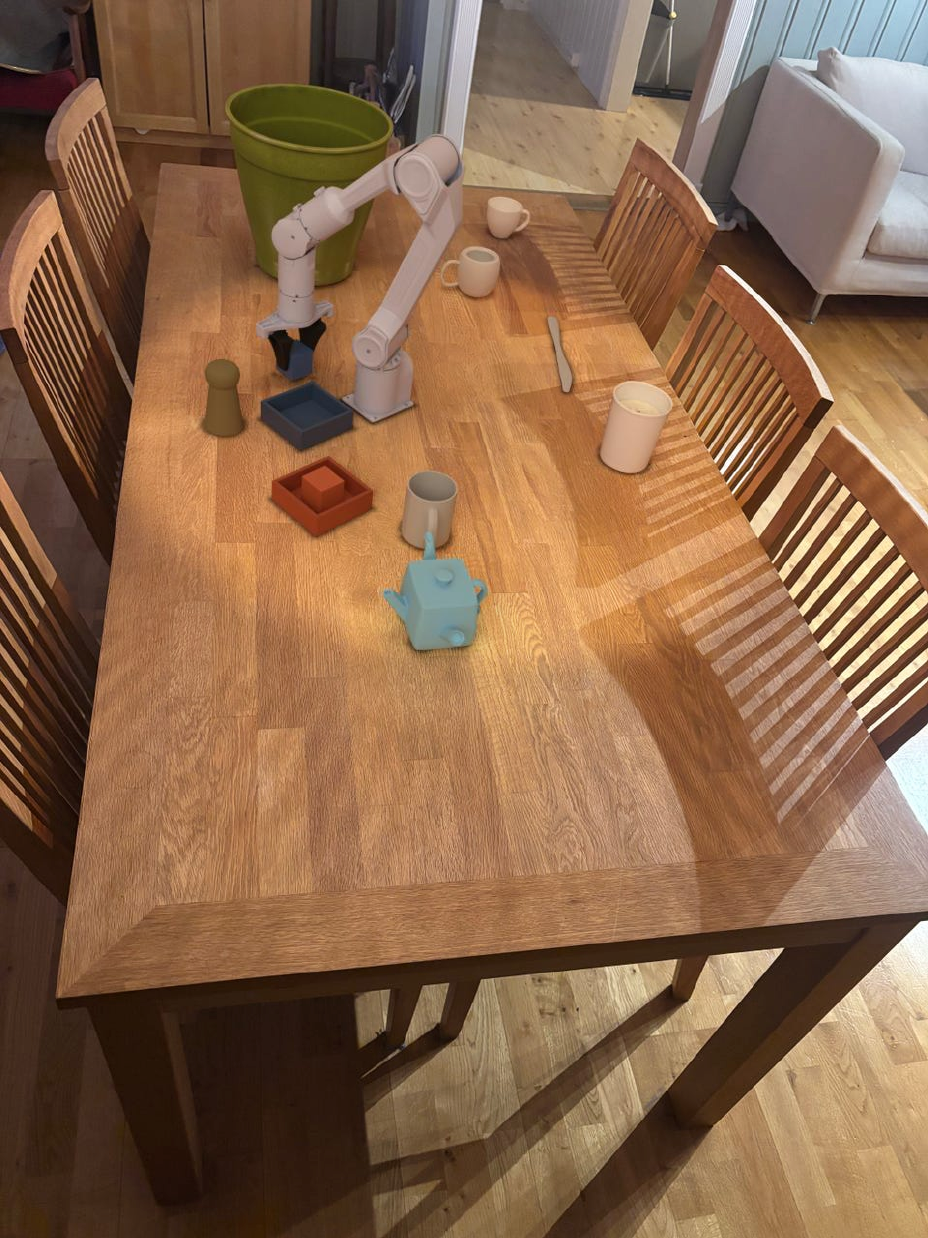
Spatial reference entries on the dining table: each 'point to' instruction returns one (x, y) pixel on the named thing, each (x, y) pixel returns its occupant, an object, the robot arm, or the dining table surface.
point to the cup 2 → (505, 216)
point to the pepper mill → (223, 398)
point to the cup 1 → (428, 507)
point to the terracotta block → (322, 489)
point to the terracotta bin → (353, 504)
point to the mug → (475, 271)
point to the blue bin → (306, 415)
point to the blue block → (299, 361)
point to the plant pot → (304, 162)
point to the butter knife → (560, 355)
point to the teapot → (438, 601)
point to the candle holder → (634, 425)
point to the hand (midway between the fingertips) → (294, 363)
